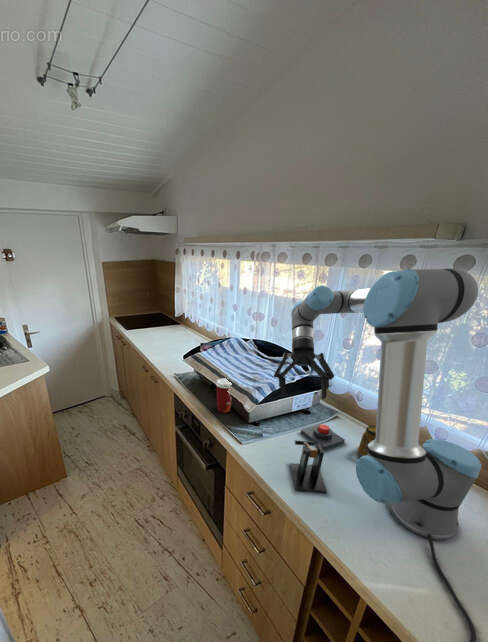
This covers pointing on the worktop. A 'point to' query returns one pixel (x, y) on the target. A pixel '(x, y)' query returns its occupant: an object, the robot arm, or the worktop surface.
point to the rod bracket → (308, 472)
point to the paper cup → (223, 395)
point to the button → (323, 429)
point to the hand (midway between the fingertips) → (303, 397)
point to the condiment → (366, 441)
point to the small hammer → (312, 450)
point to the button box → (322, 437)
